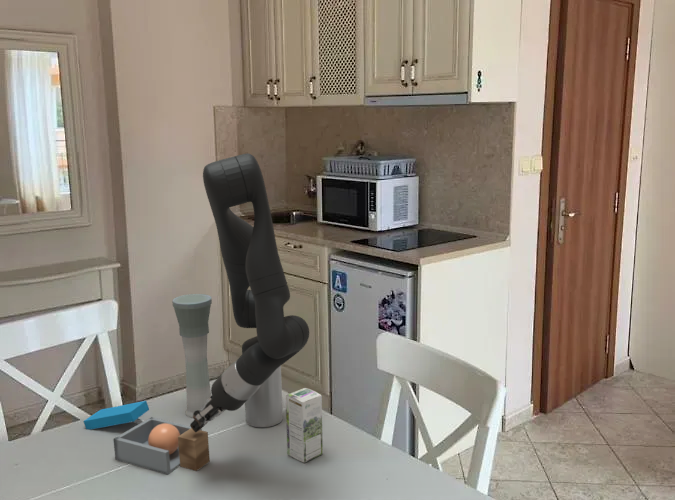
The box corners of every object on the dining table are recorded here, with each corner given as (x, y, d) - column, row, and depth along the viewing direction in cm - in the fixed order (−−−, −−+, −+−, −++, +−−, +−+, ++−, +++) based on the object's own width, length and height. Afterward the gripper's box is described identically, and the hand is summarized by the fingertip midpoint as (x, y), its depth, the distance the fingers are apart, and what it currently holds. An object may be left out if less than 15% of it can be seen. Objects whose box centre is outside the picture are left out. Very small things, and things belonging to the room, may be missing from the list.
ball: (190, 432, 151) (182, 456, 153) (171, 413, 154) (162, 437, 156) (166, 442, 145) (157, 467, 147) (146, 422, 148) (138, 447, 151)
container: (214, 419, 169) (207, 303, 163) (176, 420, 169) (167, 304, 163) (221, 403, 179) (214, 293, 173) (185, 404, 179) (177, 294, 173)
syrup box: (306, 445, 155) (303, 386, 152) (323, 454, 151) (321, 393, 148) (287, 455, 151) (284, 394, 148) (304, 464, 147) (302, 401, 144)
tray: (203, 449, 154) (201, 429, 153) (167, 474, 144) (165, 452, 143) (153, 436, 161) (151, 417, 160) (115, 459, 151) (113, 438, 150)
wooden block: (209, 461, 149) (207, 431, 148) (196, 471, 145) (194, 440, 144) (193, 457, 151) (191, 427, 150) (180, 466, 147) (177, 436, 146)
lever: (92, 447, 167) (152, 437, 160) (83, 421, 166) (142, 409, 160) (109, 434, 173) (167, 424, 167) (100, 409, 172) (158, 398, 166)
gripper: (245, 358, 144) (203, 402, 152) (206, 380, 133) (163, 426, 141) (267, 385, 143) (223, 428, 151) (230, 410, 132) (185, 455, 140)
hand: (194, 427), depth 146 cm, fingers closed
